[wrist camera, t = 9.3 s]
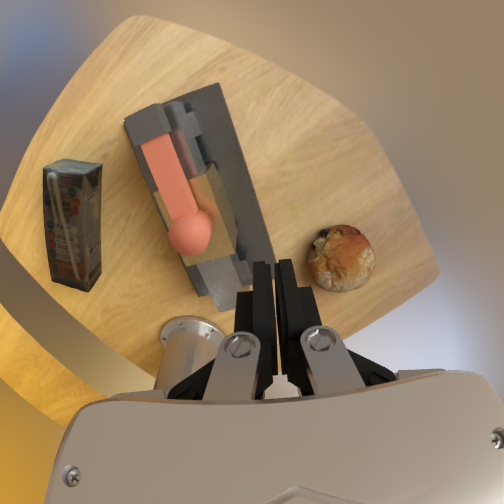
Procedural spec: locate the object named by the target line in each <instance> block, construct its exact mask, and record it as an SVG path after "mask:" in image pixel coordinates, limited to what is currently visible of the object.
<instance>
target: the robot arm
mask: <svg viewBox="0 0 504 504" xmlns="http://www.w3.org/2000/svg"><path fill="white" fill-rule="evenodd" d="M274 272H275V293H276V314H277V325H278V336H279V346H280V357H281V368H282V375H285V374H287V378H288V382H291V383H292V384H294V385H295V386H297V387H298V394H299V397H291V398H279V399H264V398H265V390H266V389H267V388H268V387H269V386H270V385H271V384H272V383H273V375H278V361H277V334H276V317H275V307H274V296H273V286H272V276H271V266H270V264H265V261H254V262H253V291H242V292H237V297H236V311H235V324H234V333H231V334H230V335H228V336H226V335H225V333H224V332H223V331H222V330H221V329H220V328H219V327H218V326H217V325H215V324H213V323H212V322H210V321H207V320H205V319H202V318H198V317H191V316H183V317H177V318H174V319H172V320H170V321H168V322H167V323H166V324H165V325H164V326H163V328H162V331H161V334H160V341H161V344H162V346H163V348H164V349H165V350H164V353H163V357H162V360H161V363H160V367H159V370H158V374H157V378H156V381H155V385H154V389H153V390H149V391H140V392H130V393H120V394H116V395H114V396H112V397H111V398H108V399H103V400H98V401H94V402H91V403H89V404H86V405H85V406H83V407H81V408H80V409H79V410H78V411H77V412H76V413H75V415H74V416H73V418H72V419H71V421H70V423H69V425H68V427H67V429H66V431H65V433H64V436H63V438H62V441H61V443H60V446H59V449H58V452H57V455H56V457H55V461H54V465H53V468H52V472H51V476H50V480H49V484H48V488H47V492H46V497H45V503H44V504H504V406H503V405H502V403H501V401H500V399H499V397H498V395H497V394H496V392H495V391H494V389H493V388H492V386H491V385H490V383H489V382H488V381H487V380H486V379H485V378H484V377H483V376H481V375H479V374H478V373H475V372H470V371H462V370H448V371H446V370H444V369H422V370H398V372H397V373H393V372H392V371H390V370H388V369H387V368H385V367H383V366H381V365H379V364H377V363H375V362H373V361H371V360H369V359H366V358H364V357H362V356H360V355H358V354H356V353H354V352H352V351H350V350H348V349H346V347H345V345H344V343H343V341H342V339H341V337H340V335H339V334H338V333H337V332H336V331H335V330H334V329H332V328H330V327H327V326H322V323H321V319H320V316H319V312H318V308H317V305H316V301H315V298H314V294H313V291H312V288H311V286H309V287H297V282H296V278H295V274H294V269H293V265H292V260H291V259H282V260H279V263H274Z"/></svg>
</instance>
